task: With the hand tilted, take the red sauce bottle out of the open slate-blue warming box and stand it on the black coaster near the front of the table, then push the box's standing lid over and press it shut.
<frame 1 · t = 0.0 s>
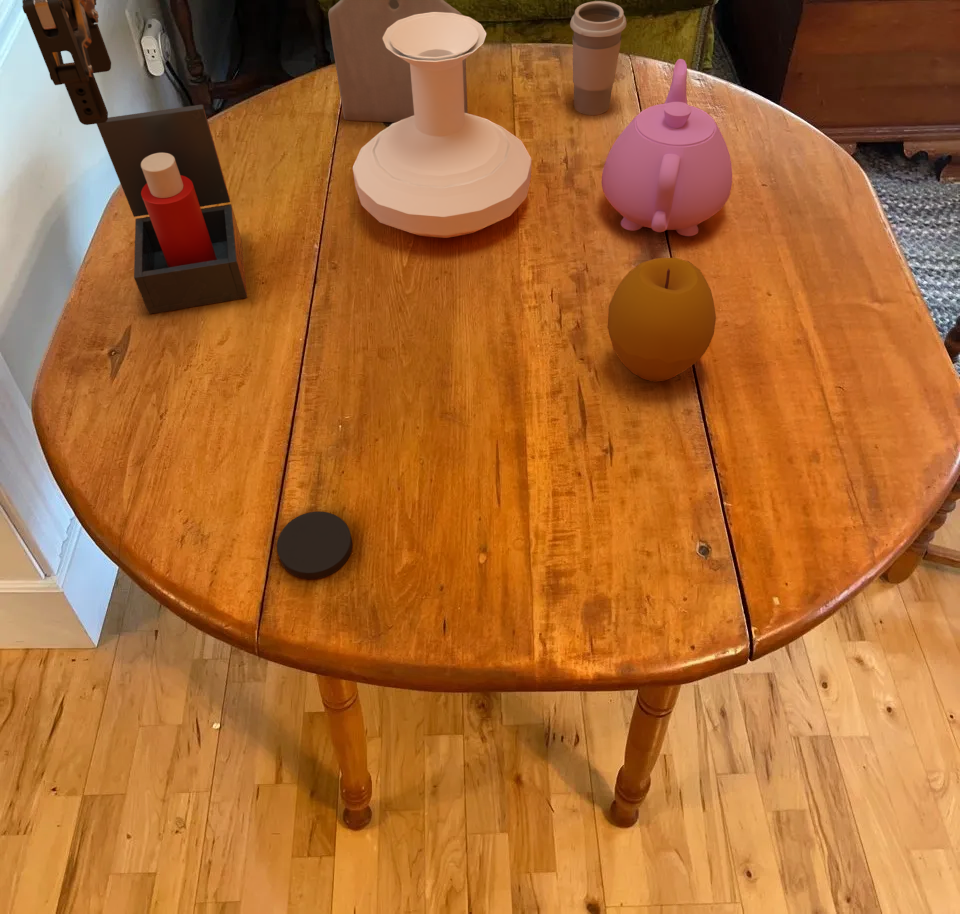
hand: (97, 95, 73), 23 cm above the table, tool pointing down, fingers open, 8 cm apart
warming box: (197, 275, 94), on the table
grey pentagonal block: (410, 108, 115), on the table
black coaster: (315, 547, 72), on the table
candle holder: (444, 204, 101), on the table
cup: (591, 107, 114), on the table
sauce bottle: (195, 270, 93), point 1 cm above the table, touching warming box
apple: (652, 366, 84), on the table
box lid: (167, 162, 89), point 11 cm above the table, hinge at 88.0°
teapot: (661, 207, 100), on the table
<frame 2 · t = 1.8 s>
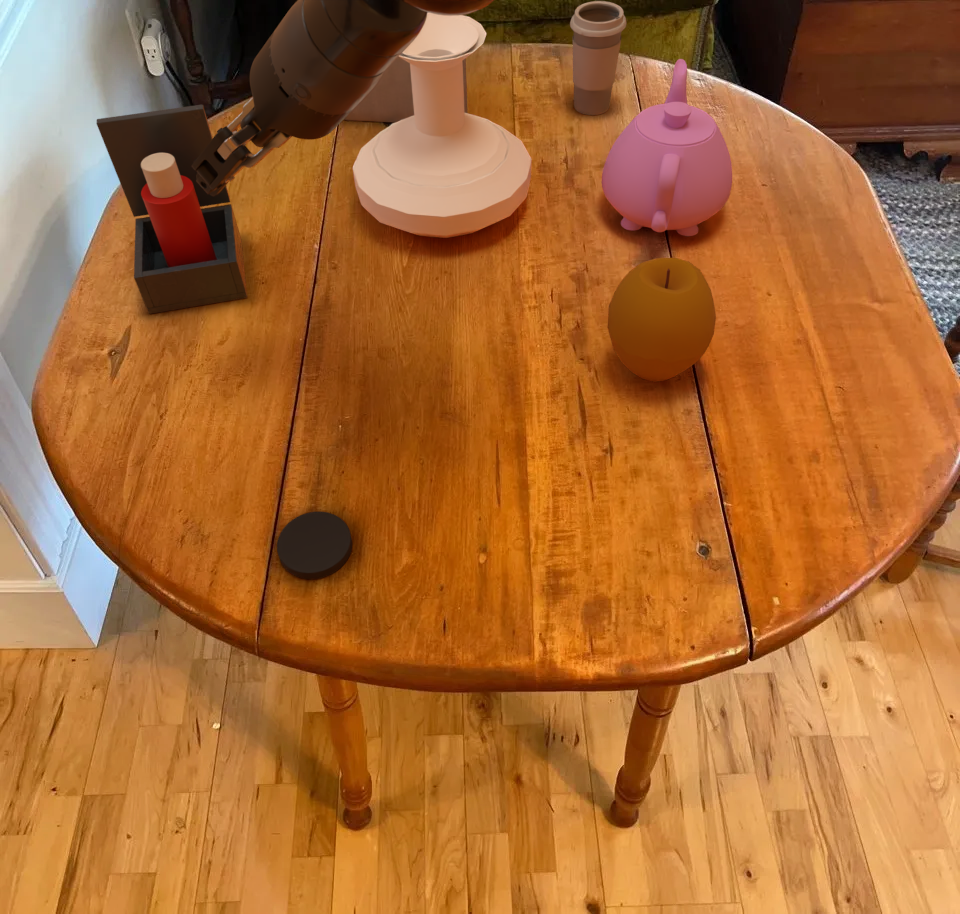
hand: (239, 161, 76), 17 cm above the table, tool tilted 45°, fingers open, 8 cm apart
nothing on the table moved.
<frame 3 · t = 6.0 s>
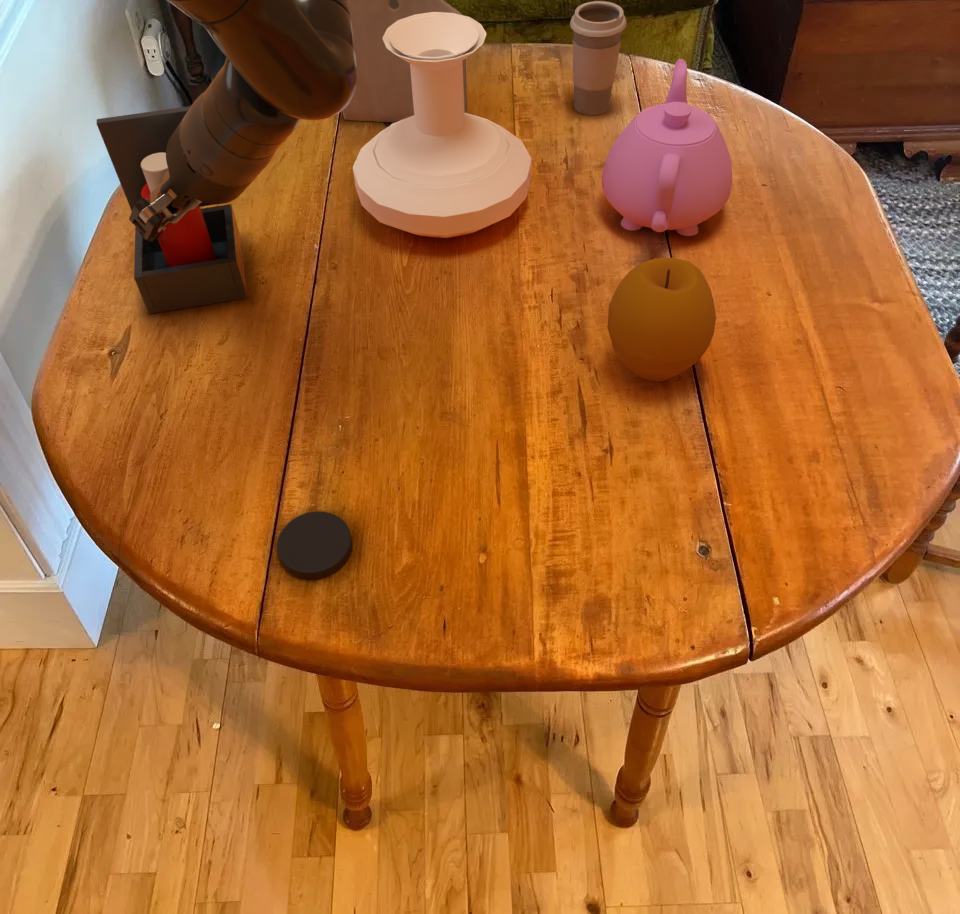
hand: (165, 218, 89), 7 cm above the table, tool tilted 45°, fingers closed on sauce bottle, 5 cm apart
sauce bottle: (195, 270, 93), point 1 cm above the table, touching gripper, warming box
everything else where it was.
when the fingers open (7 cm above the table, at t = 16.7 s): sauce bottle stays where it is, resting on black coaster.
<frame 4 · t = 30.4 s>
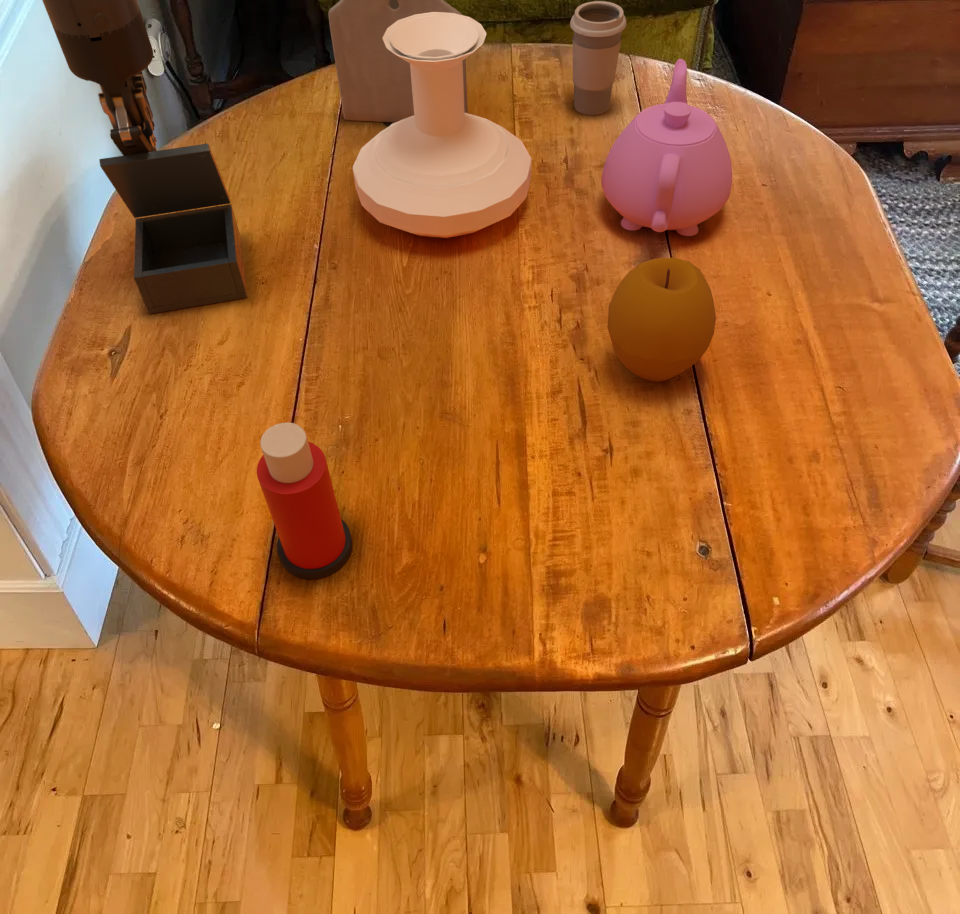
hand: (155, 184, 89), 9 cm above the table, tool pointing down, fingers closed
sauce bottle: (314, 542, 71), point 1 cm above the table, touching black coaster
box lid: (169, 182, 88), point 10 cm above the table, hinge at 60.3°, touching gripper
everything else where it was.
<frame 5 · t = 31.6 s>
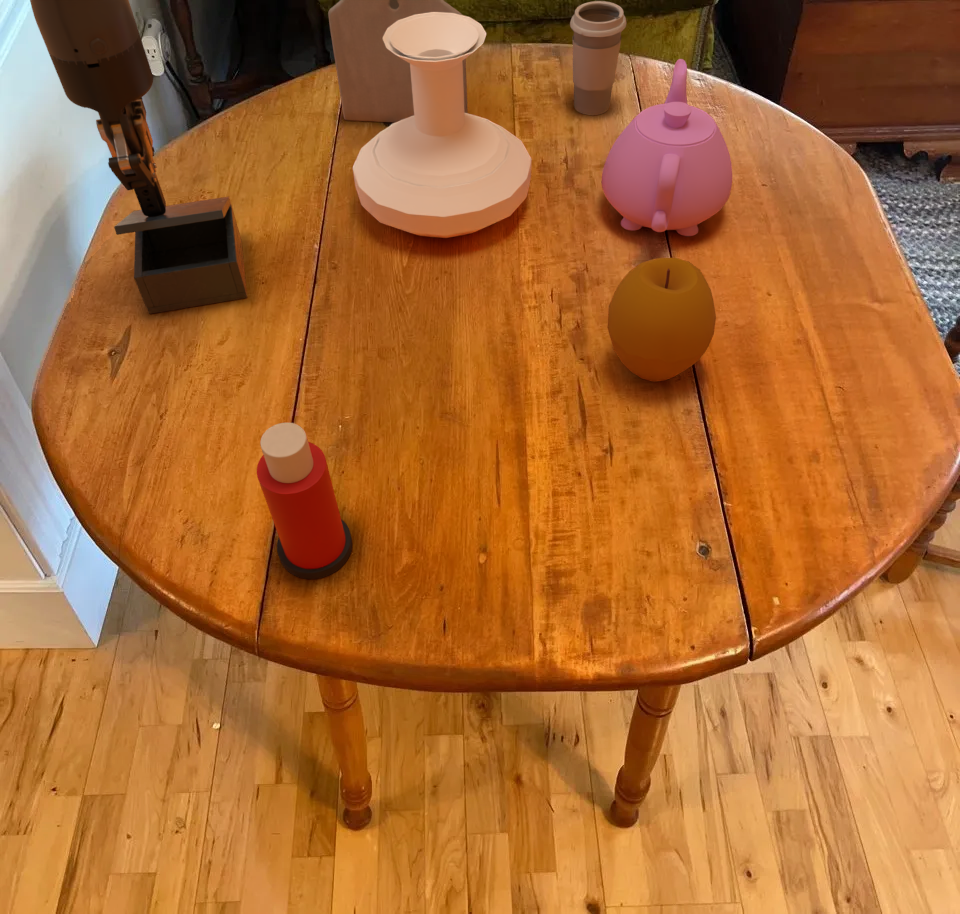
hand: (155, 211, 86), 9 cm above the table, tool pointing down, fingers closed
box lid: (176, 214, 88), point 8 cm above the table, hinge at 26.7°, touching gripper
everything else where it was.
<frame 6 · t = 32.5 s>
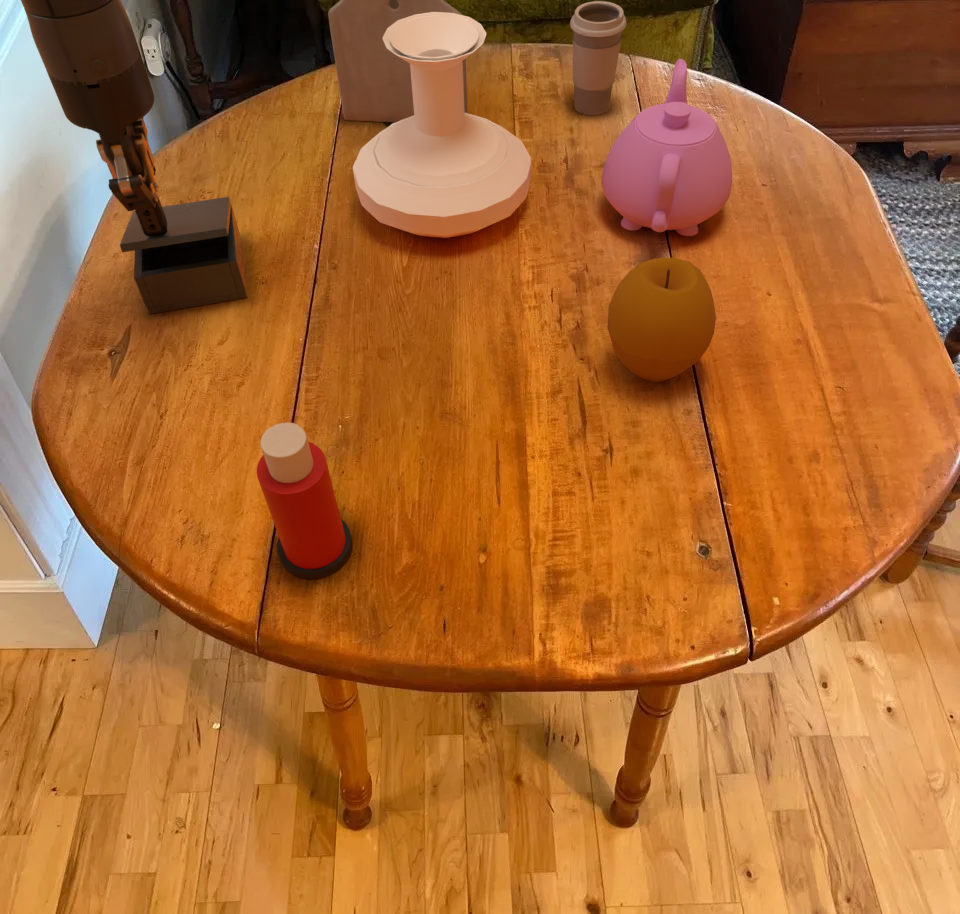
hand: (157, 231, 85), 9 cm above the table, tool pointing down, fingers closed
box lid: (178, 222, 88), point 7 cm above the table, hinge at 17.7°, touching gripper
everything else where it was.
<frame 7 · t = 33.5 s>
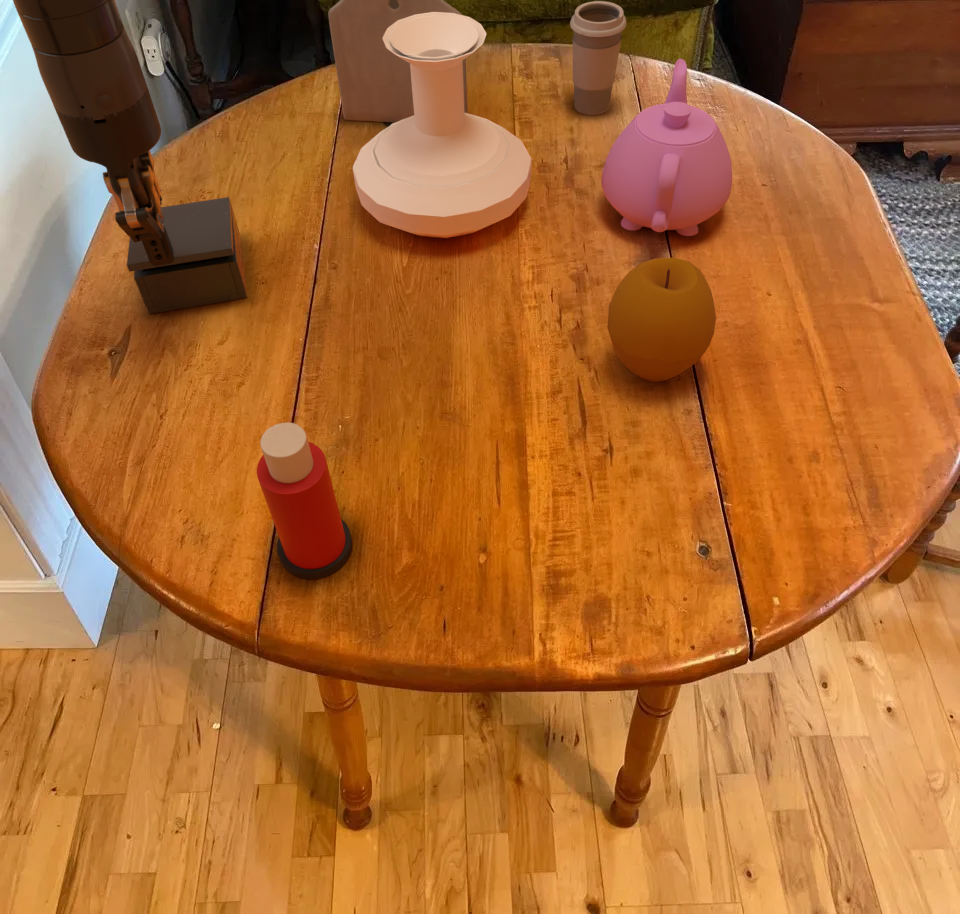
hand: (163, 260, 85), 7 cm above the table, tool pointing down, fingers closed
box lid: (181, 232, 89), point 6 cm above the table, hinge at 6.8°, touching gripper
everything else where it was.
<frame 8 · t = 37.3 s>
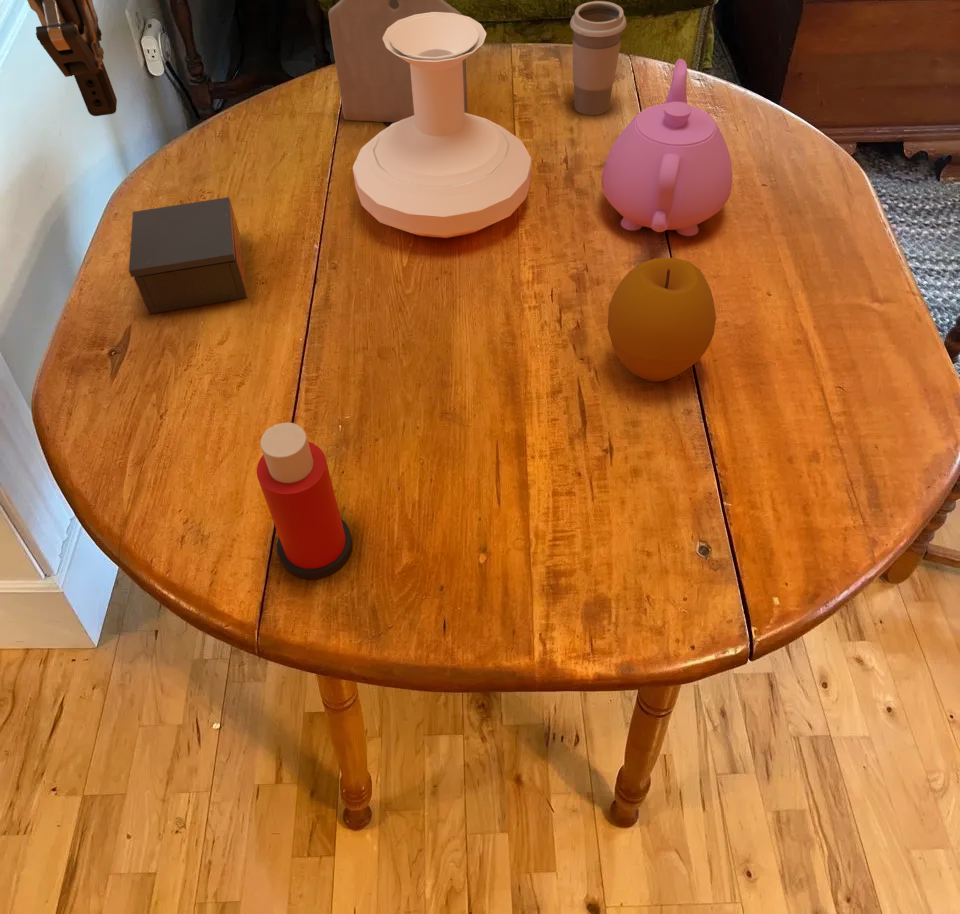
hand: (104, 110, 72), 23 cm above the table, tool pointing down, fingers closed
box lid: (182, 235, 89), point 6 cm above the table, hinge at 3.3°
everything else where it was.
at the end: sauce bottle 0.2 cm off-centre on the black coaster, point 1.0 cm above the black coaster's base; sauce bottle tilted 0°; box lid at +3° (first picture: +88°) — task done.
